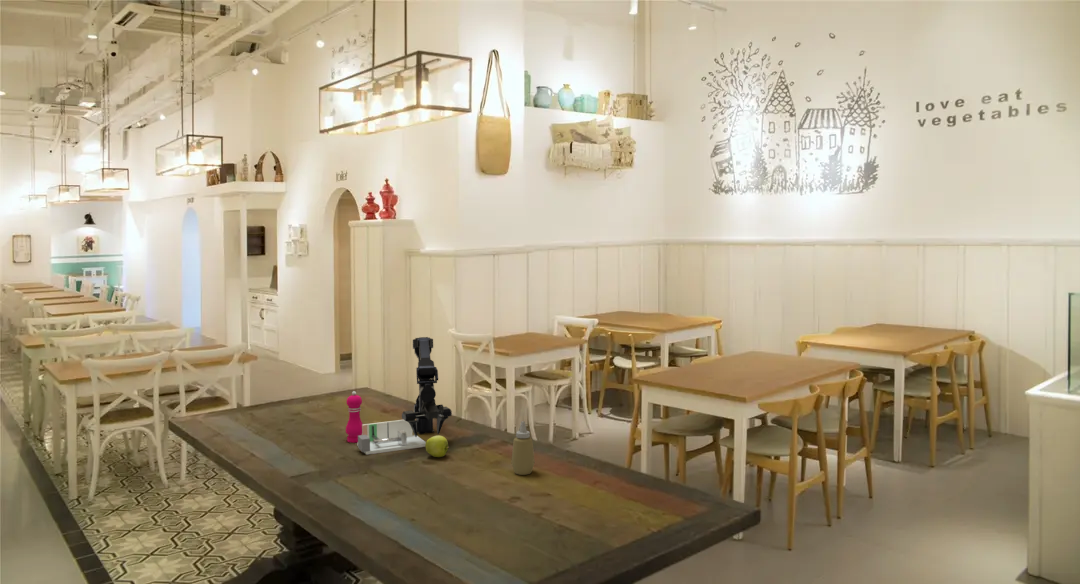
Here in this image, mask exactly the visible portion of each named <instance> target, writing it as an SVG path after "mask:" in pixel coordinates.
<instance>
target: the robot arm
mask: <svg viewBox="0 0 1080 584" xmlns="http://www.w3.org/2000/svg"><path fill="white" fill-rule="evenodd" d="M432 349H434V339H433V338H431V337H428V336H423V337H421V336H419V337H415V338H414V339H412V350H414V355H415V356H416V358H417V361H418V362H417V367H416V368H415V369H416V374H415V375H416V376H415V377H416V385H418V392H419V393H418V396H417V397H416V400H415V403H414V405H413V410H404V411H402V413H401V420H405V421H407V422H409V424H410V425H411V428H412V434H413V435H415V437H417V436H418V434H419V435H422V434H423V435H425V434H430V433H435V430H434V419H436V433H437V435H440V433H441V430H442V427H443V425H444V422H445V421H446V420H447V419H449V417H452V413H453V411H452V409H451V408H449V407H448V406H444V405H443V404H436V399H435V398H436V394H437V392H436V389H435V384H437V383H438V381H439V371H438V368H437V367H436V366H435V362H434V360H432V359H431V354H432Z"/></svg>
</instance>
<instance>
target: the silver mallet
mask: <svg viewBox="0 0 1080 584" xmlns="http://www.w3.org/2000/svg"><path fill="white" fill-rule="evenodd" d="M372 438H373V439H374V441H373V443H374V444H381V443H389V442H396V441H398V443H399V444H400V445H401V446H403V445H407V436H406V432H405V431H404V430H398V437H394V438H387V439H379V438H378V437H376V436H375V435H374V426H372Z"/></svg>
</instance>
